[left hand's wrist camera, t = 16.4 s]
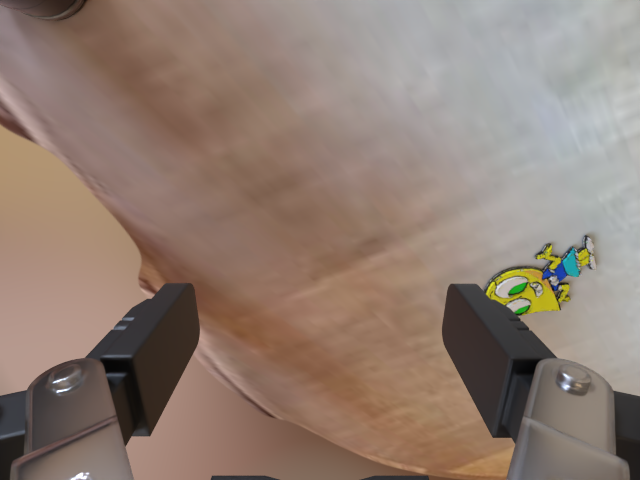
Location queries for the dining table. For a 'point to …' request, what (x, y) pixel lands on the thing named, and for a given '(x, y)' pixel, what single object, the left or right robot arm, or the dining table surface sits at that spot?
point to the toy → (540, 281)
